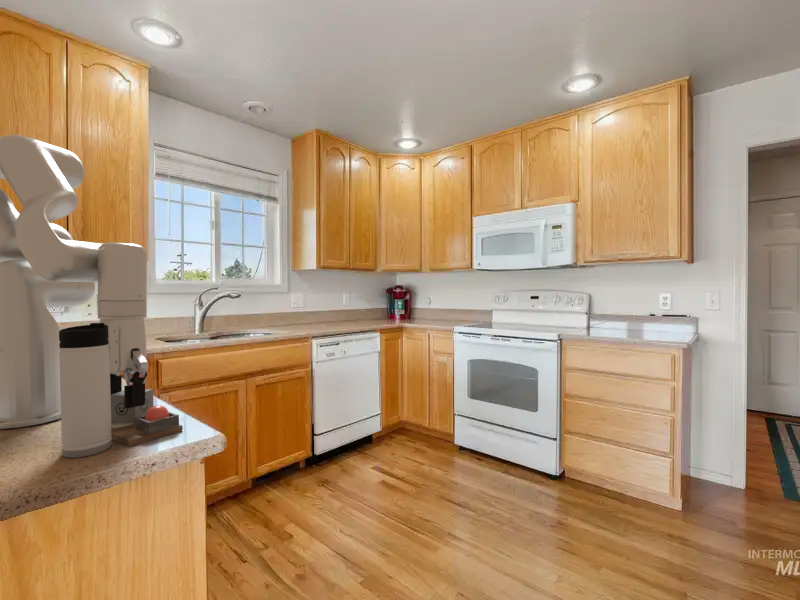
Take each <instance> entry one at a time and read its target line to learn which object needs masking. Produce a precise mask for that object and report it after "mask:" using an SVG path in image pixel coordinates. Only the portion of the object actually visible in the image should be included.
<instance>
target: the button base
mask: <svg viewBox="0 0 800 600" xmlns="http://www.w3.org/2000/svg"><path fill="white" fill-rule="evenodd" d="M168 412H169V417H167V418H163V419H159V420H155V421H151V422H150V421H147V420H145V416H141V417H136V418H135V423H111V429H112V435H111V437H112V440H113V441H116V442H118V443H121V444H123V445H125V446H127V447H132V446H137V445H140V444H143V443H147V442H149V441H153V440H156V439H160V438H164V437H167V436H170V435H174V434H178V433H181V432H183V431H182V430H183V427H184V426H183V425H182V424H180V415H179V414H177V413H174V412H170V411H168ZM180 431H181V432H180ZM177 432H178V433H177Z"/></svg>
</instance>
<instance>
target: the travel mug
mask: <svg viewBox="0 0 800 600" xmlns="http://www.w3.org/2000/svg"><path fill="white" fill-rule="evenodd" d="M108 337H109V336H108V325H104V323H99V322H93V323H91V322H90V323H89V324H86V325H85V324H83V325H75V326H70V327H66V328H62V329H59V341H60V343H59V351H60V352H59V367H60V400H61V419H60V424H61V425H60V427H61V428H60V430H61V453H62V454H61V455H62V457H64V458H67V459H68V458H69V459H77V458H85V457H90V456H91V457H92V456H94V455H97V454H101V453H103V452H105V451H107V450H109V449H110V448H111V447H112V446H113V441H112V440H113V439H112V437H111V435H112V429H111V393H110V357H109V348H108V347H109V340H108Z"/></svg>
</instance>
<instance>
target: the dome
mask: <svg viewBox="0 0 800 600" xmlns="http://www.w3.org/2000/svg"><path fill="white" fill-rule="evenodd" d="M169 412H170V411H169V410H168V408H167V407H166V406H164V405H161V404H160V405H158V404H157V405H153V407H151V408H150V409H149V410H148V411H147V412H146V415H145V420H147V421H150V422H151V421H155V420H159V419H163V418H167V417H169Z"/></svg>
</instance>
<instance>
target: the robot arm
mask: <svg viewBox="0 0 800 600" xmlns="http://www.w3.org/2000/svg"><path fill="white" fill-rule="evenodd" d="M85 173H86V171H85V168H84V164H83V162H82V160H80V158H79V157H78V156H77V155H76V154H75V153H74V152H72V151H70V150H68V149H66V148H62V147H60V146H56V145H54V144H50V143H48V142H45V141H43V140H42V141H41V140H39V139H37V138H36V139H35V138H33V137H29V136H25V135H19V134H9V135H4V136H2V137H1V136H0V179H1V180H5V181H7V182H8V183H7V184H9V186H10V187H11V189H12V191H13V192H14V195H16V197H17V199H18V200H19V202H20V204H21V205H22V206H23V208H22V209H21V210H20V212H19V211H18V210H17V208H16V207H15V205H14V202H13V201H12V198H10V197H9V195H8V194H7V193H6V192H5V191H4V190H3V189H2V188H1V187H0V430H5V429H17V428H24V427H30V426H36V425H41V424H46V423H50V422H53V421H57V420H58V421H59V420H61V400H60V367H59V352H60V351H59V343H60V341H59V331H60V328H59V327H60V326H59V324H58V322H57V320H56V319H55V317H54V316H53V315H52V313H51V312H50V311H49V310H48V309H49V308H64V307H77V306H82V305H85V304H87V303H88V302H90V300H92V299H93V297H94V294H95V293H96V284H97V319H98V320H99V322H98V323H104V325H108V336H109V337H108V340H109V347H108V348H109V357H110V393H111V395H112V394H115V393H118V392H121V391H124V407H125V408H132V407H137V406H142V405H144V404H145V389H146V383H147V376H148V368H149V362H148V360H147V334H146V325H145V319H146V318H147V316H148V315H147V314H148V311H147V309H148V307H147V306H148V304H147V302H148V299H147V295H148V293H147V292H148V291H147V290H148V286H147V284H148V283H147V280H148V278H147V277H148V275H147V273H148V268H147V267H148V266H147V265H148V263H147V262H148V255H147V250H146V248H145V247H143V246H142V245H139V244H136V243H127V242H126V243H125V242H105V243H98V242H89V241H83V240H82V241H80V240H74V238H73V236H72V235H71V234H70V233H69V231H68V230H66V229H65V228H63V227H62V226H61V225H59V224H56V223H53V222H54V221H58V220H61V219H63V218H65V217H68V216H69V215H71V214H73V212H74V211H75V210H77V208H78V205H79V198H78V195H77V194H76V192H75V191H74V190H75V189H77V188H79V187H80V186H81V185H82V184H83V182H84V179H85ZM121 374H122V375H123V377H122V375H121ZM123 378H124V380H125V382H126V385H124V386H123V385H122V384H123V383H122V380H123ZM122 387H124V389H123V388H122ZM122 389H123V390H122Z"/></svg>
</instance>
